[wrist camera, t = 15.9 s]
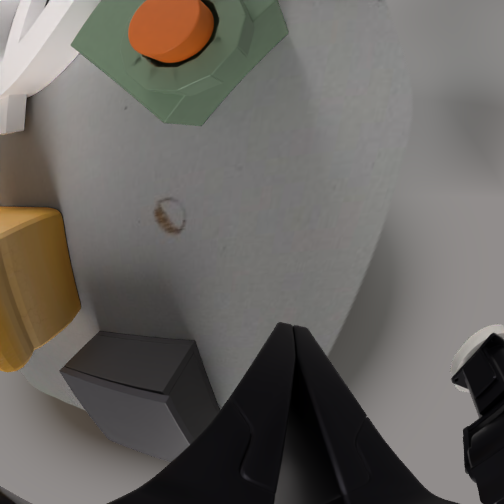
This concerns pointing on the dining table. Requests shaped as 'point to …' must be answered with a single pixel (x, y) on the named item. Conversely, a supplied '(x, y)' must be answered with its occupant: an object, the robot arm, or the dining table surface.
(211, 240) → the dining table surface
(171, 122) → the control block
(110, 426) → the fryer lid
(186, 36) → the button
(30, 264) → the bread
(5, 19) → the white circle with bar
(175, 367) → the charcoal lidded box
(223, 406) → the robot arm
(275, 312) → the dining table surface
